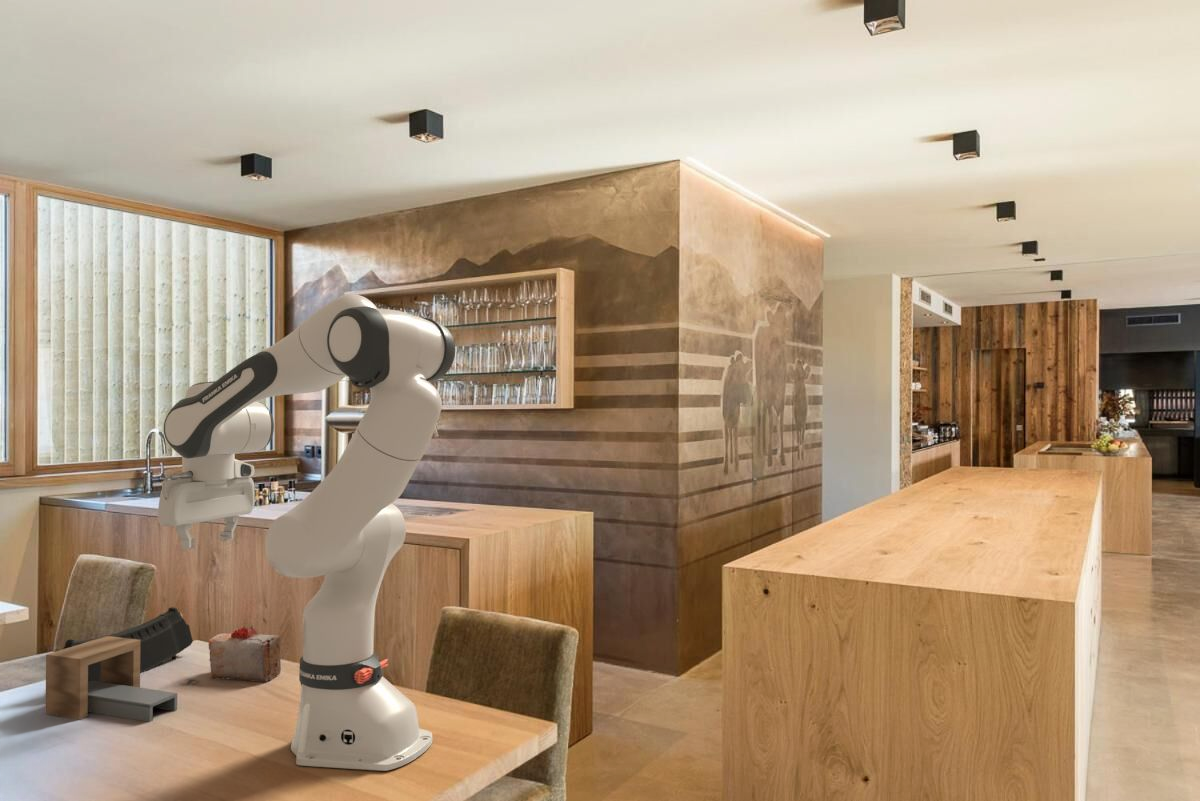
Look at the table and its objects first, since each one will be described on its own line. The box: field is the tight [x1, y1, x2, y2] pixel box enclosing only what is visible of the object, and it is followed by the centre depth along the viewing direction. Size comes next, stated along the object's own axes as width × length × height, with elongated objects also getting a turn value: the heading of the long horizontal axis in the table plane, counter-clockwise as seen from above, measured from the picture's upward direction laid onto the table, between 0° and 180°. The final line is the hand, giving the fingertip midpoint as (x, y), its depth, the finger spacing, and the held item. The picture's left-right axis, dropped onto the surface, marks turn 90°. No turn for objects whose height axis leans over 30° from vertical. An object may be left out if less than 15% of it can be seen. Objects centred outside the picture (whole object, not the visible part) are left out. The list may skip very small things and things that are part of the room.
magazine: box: [61, 606, 194, 682], centre depth 167 cm, size 17×3×30 cm
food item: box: [208, 624, 282, 682], centre depth 168 cm, size 14×8×10 cm, turn 80°
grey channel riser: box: [88, 681, 178, 723], centre depth 150 cm, size 20×6×3 cm, turn 72°
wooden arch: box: [44, 635, 141, 720], centre depth 152 cm, size 8×12×10 cm, turn 162°
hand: (208, 544), depth 154 cm, fingers open, 8 cm apart
